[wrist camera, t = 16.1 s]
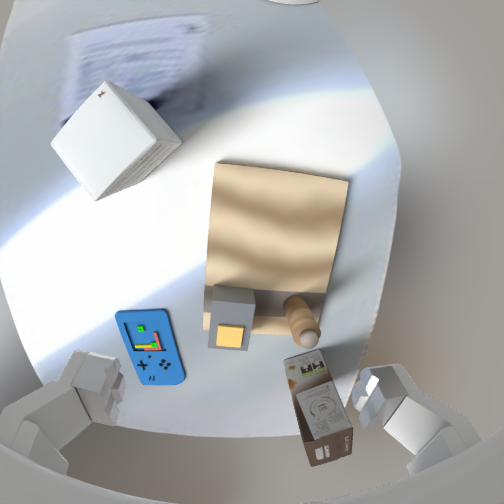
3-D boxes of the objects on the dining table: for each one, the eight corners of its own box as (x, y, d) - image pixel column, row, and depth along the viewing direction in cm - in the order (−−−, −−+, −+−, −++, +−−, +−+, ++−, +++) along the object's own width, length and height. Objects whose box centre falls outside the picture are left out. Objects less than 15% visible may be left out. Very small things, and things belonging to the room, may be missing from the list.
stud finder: (213, 284, 35) (211, 302, 31) (252, 288, 36) (255, 306, 32) (209, 329, 37) (207, 349, 33) (245, 332, 38) (247, 352, 34)
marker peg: (285, 294, 36) (299, 330, 29) (308, 295, 37) (326, 330, 29) (281, 314, 37) (293, 352, 30) (303, 315, 38) (319, 352, 30)
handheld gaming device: (141, 386, 41) (112, 314, 36) (142, 381, 42) (115, 310, 37) (187, 386, 42) (165, 311, 36) (187, 381, 43) (166, 307, 37)
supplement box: (104, 142, 29) (47, 142, 17) (148, 100, 28) (106, 75, 16) (139, 185, 31) (93, 204, 19) (185, 144, 30) (159, 139, 18)
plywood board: (215, 162, 31) (214, 163, 30) (345, 180, 33) (348, 181, 32) (203, 325, 38) (202, 330, 37) (312, 330, 40) (314, 335, 39)
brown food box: (281, 359, 42) (301, 443, 27) (320, 348, 42) (353, 426, 27) (291, 393, 45) (310, 468, 30) (326, 383, 45) (353, 454, 30)
